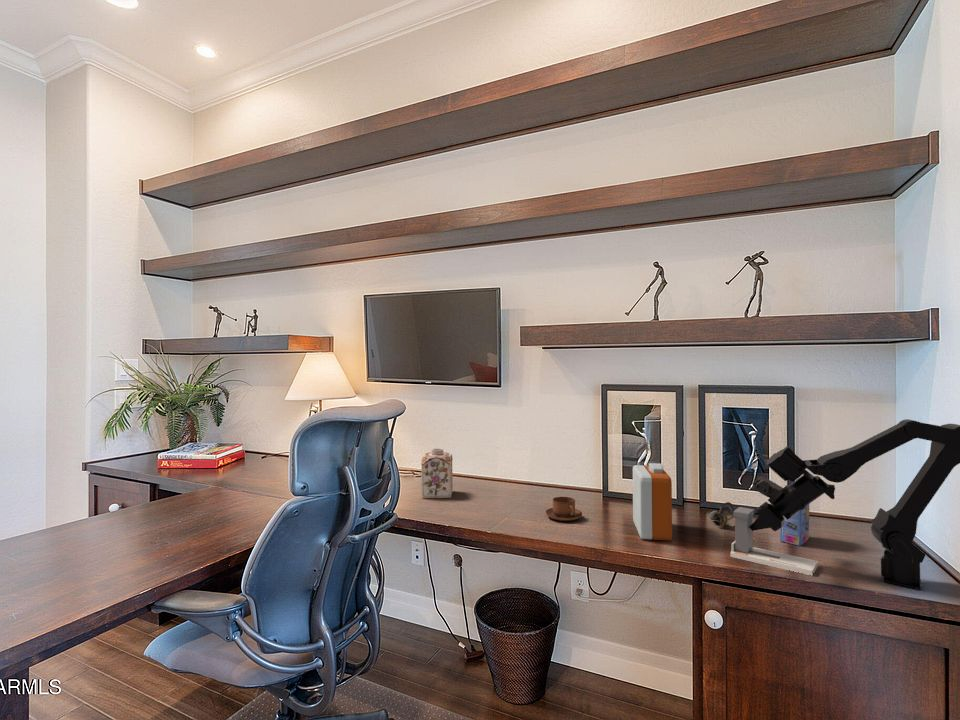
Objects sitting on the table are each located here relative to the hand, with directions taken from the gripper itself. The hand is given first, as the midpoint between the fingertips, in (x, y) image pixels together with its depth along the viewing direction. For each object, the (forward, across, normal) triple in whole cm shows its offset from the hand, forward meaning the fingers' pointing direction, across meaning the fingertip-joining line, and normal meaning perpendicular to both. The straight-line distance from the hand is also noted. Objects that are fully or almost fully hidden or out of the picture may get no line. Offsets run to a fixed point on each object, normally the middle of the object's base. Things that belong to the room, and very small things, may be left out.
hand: (751, 528), depth 130 cm
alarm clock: (+25, -2, -14) cm, 29 cm away
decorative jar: (+83, +12, -72) cm, 110 cm away
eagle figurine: (+15, -23, -4) cm, 28 cm away
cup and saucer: (+45, +4, -34) cm, 56 cm away
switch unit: (+2, 0, +9) cm, 9 cm away
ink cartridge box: (+1, -22, +10) cm, 24 cm away
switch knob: (+5, 0, +3) cm, 6 cm away
